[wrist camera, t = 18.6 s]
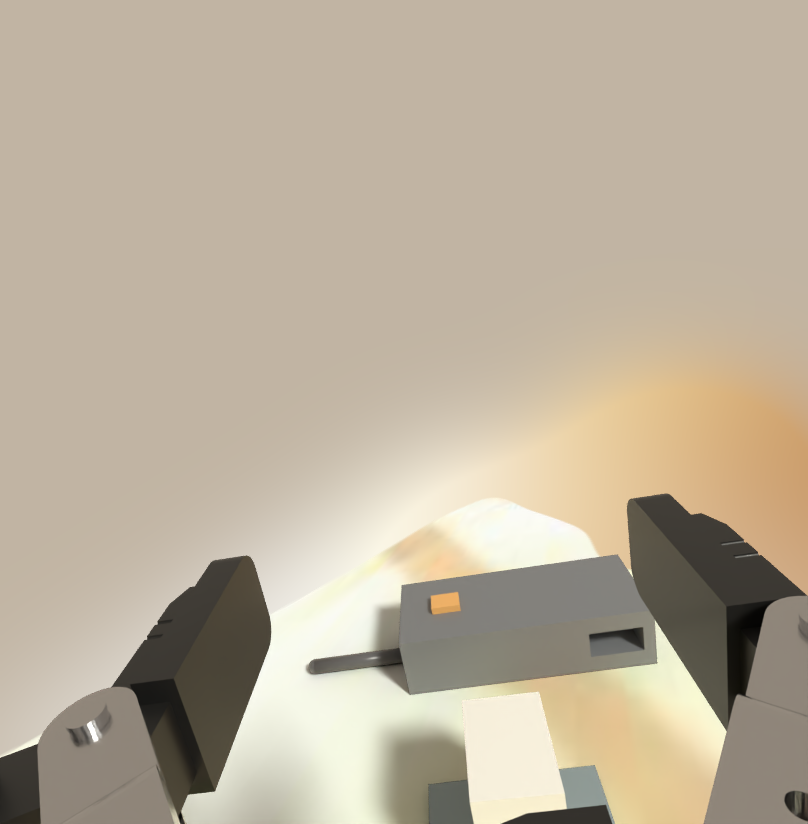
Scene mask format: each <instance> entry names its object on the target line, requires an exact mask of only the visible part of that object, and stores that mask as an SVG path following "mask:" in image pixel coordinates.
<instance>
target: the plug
mask: <svg viewBox="0 0 808 824" xmlns="http://www.w3.org/2000/svg"><path fill="white" fill-rule="evenodd" d="M462 709H463V722H464V735H465V748H466V761H467V774H468V786H469V799H470V806H471V812H472V817H473V822H474V824H501V823H504V822H506V821H509V820H511V819H514V818H516V817H519V816H522V815H524V814H527V813H534V812H544V811H553V810H562V809H567V807H566V799H565V792H564V788H563V784H562V780H561V776H560V773H559V769H558V765H557V761H556V757H555V753H554V749H553V745H552V741H551V737H550V733H549V729H548V725H547V721H546V717H545V713H544V710H543V706H542V702H541V698H540V694H539V692H531V693H523V694H514V695H505V696H496V697H487V698H478V699H469V700H462Z"/></svg>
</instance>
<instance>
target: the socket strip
mask: <svg viewBox="0 0 808 824" xmlns="http://www.w3.org/2000/svg"><path fill="white" fill-rule="evenodd" d="M399 647H400V648H396V649H388V650H381V651H373V652H366V653H358V654H351V655H343V656H336V657H328V658H321V659H314V660H312V661H311V662H310V664H309V670H310V672H311V673H313V674H318V673H326V672H333V671H341V670H349V669H356V668H364V667H371V666H379V665H387V664H394V663H402V662H403V666H404V670H405V675H406V679H407V684H408V688H409V693H410V695H411V694H419V693H427V692H434V691H442V690H450V689H458V688H466V687H474V686H482V685H489V684H497V683H505V682H513V681H521V680H529V679H537V678H544V677H552V676H560V675H568V674H576V673H584V672H592V671H599V670H607V669H615V668H623V667H631V666H639V665H647V664H654V663H657V651H656V635H655V619H654V617H653V616H652V614H651V613H650V611H649V609H648V608H647V606H646V605H645V603H644V602H643V600H642V599H641V597H640V595H639V593H638V590H637V588H636V585H635V582H634V579H633V577H632V576H631V574H630V573H629V571H628V570H627V568H626V567H625V565H624V564H623V562H622V561H621V559H620V558H619V556H618V555H611V556H603V557H596V558H589V559H582V560H575V561H568V562H561V563H554V564H547V565H540V566H533V567H526V568H519V569H512V570H505V571H498V572H491V573H484V574H477V575H470V576H463V577H456V578H449V579H442V580H435V581H428V582H421V583H414V584H407V585H402V591H401V611H400V632H399Z"/></svg>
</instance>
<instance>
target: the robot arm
mask: <svg viewBox="0 0 808 824" xmlns="http://www.w3.org/2000/svg"><path fill="white" fill-rule="evenodd" d="M627 515H628V530H629V543H630V557H631V569H632V574H633V578H634V582H635V585H636V588H637V590H638V593H639V595H640V597H641V599H642V600H643V602H644V603H645V605H646V606H647V608H648V609H649V611H650V613H651V614H652V616H653V617H654V619H655V620H656V622H657V623H658V625H659V627H660V628H661V630H662V631H663V633H664V634H665V636H666V637H667V639H668V641H669V642H670V644H671V645H672V647H673V648H674V650H675V651H676V653H677V655H678V656H679V658H680V659H681V661H682V662H683V664H684V665H685V667H686V669H687V670H688V672H689V673H690V675H691V676H692V678H693V679H694V681H695V682H696V684H697V686H698V687H699V689H700V690H701V692H702V693H703V695H704V696H705V698H706V700H707V701H708V703H709V704H710V706H711V707H712V709H713V710H714V712H715V714H716V715H717V717H718V718H719V720H720V721H721V723H722V724H723V726H724V728H725V729H726V731H727V733H726V737H725V741H724V745H723V749H722V753H721V757H720V761H719V765H718V769H717V773H716V777H715V781H714V785H713V789H712V793H711V797H710V801H709V805H708V809H707V813H706V817H705V821H704V824H808V596H807V595H806V594H805V593H803V592H802V591H801V590H800V589H799V588H798V587H797V586H796V585H795V584H793V583H792V582H791V581H790V580H789V579H788V578H787V577H785V576H784V575H783V574H782V573H781V572H780V571H778V569H776V568H775V567H774V566H773V565H772V564H771V563H770V562H769V561H767V560H766V559H765V558H764V557H763V556H762V555H760V556H759V555H758V552H757V551H756V550H755V549H754V548H753V547H752V546H750V545H749V544H748V543H745V542H744V539H742V538H741V537H740V536H739V535H738V534H737V533H736V532H735V531H734V530H732V529H731V528H730V527H729V526H728V525H727V524H724V523H722V522H720V521H718V520H715V519H713V518H711V517H709V516H706V515H704V514H701V513H700V514H694V515H691V514H689V513H688V512H687V511H686V510H685V509H684V508H683V507H682V506H681V505H680V504H679V503H678V502H677V501H676V500H675V499H674V498H673V497H672V496H671V495H669V494H660V495H654V496H647V497H640V498H634V499H630V500H629V501H628V505H627ZM270 641H271V621H270V616H269V612H268V609H267V606H266V602H265V599H264V595H263V592H262V589H261V585H260V582H259V579H258V575H257V572H256V568H255V565H254V562H253V561H252V559H251V558H250V557H249V556H240V557H234V558H227V559H220V560H215V561H212V562H211V563H210V565H209V566H208V567H207V569H206V571H205V572H204V574H203V575H202V577H201V578H200V579H199V581H198V582H197V584H196V586H195V587H190V588H189V589H187V590H186V591H185V592H184V593H182V594H181V595H180V596H179V597H178V598H176V599H175V600H174V601H173V602H172V603H170V604H169V606H168V607H167V609H166V610H165V612H164V613H163V614H162V616H161V617H160V619H159V620H158V625H155V626H154V627H153V629H152V630H151V631H150V633H149V635H148V636H147V640H144V642H143V643H142V644H141V646H140V647H139V649H138V650H137V651H136V653H135V654H134V656H133V657H132V659H131V660H130V661H129V663H128V664H127V666H126V667H125V669H124V670H123V671H122V673H121V674H120V676H119V677H118V679H117V680H116V681H115V683H114V684H113V686H112V687H111V688H107V689H103V690H100V691H97V692H95V693H92V694H90V695H88V696H86V697H84V698H82V699H80V700H78V701H77V702H75V703H74V704H72V705H71V706H69V707H68V708H66V709H65V710H64V711H63V712H61V713H60V714H59V715H58V716H57V717H56V718H55V719H54V720H53V721H52V722H51V723H50V724H49V725H48V727H47V728H46V730H45V731H44V732H43V734H42V736H41V738H40V740H39V743H38V744H37V745H34V746H31V747H28V748H26V749H23V750H20V751H18V752H15V753H12V754H10V755H7V756H4V757H1V758H0V824H186V822H185V819H184V816H183V814H182V811H181V810H182V807H183V805H184V802H185V800H186V798H187V795H189V794H197V793H206V792H214V791H215V790H216V787H217V785H218V782H219V779H220V777H221V774H222V771H223V769H224V766H225V763H226V761H227V758H228V755H229V753H230V750H231V747H232V745H233V742H234V739H235V737H236V734H237V731H238V729H239V726H240V723H241V721H242V718H243V715H244V713H245V710H246V707H247V705H248V702H249V699H250V697H251V694H252V691H253V689H254V686H255V683H256V681H257V678H258V676H259V673H260V670H261V668H262V665H263V662H264V660H265V657H266V654H267V652H268V649H269V646H270ZM501 824H612V821H611V818H610V815H609V812H608V809H607V806H606V805H599V806H590V807H580V808H571V809H562V810H553V811H544V812H534V813H527V814H524V815H522V816H519V817H516V818H514V819H511V820H509V821H506V822H504V823H501Z"/></svg>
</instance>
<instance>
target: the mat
mask: <svg viewBox="0 0 808 824" xmlns="http://www.w3.org/2000/svg"><path fill="white" fill-rule="evenodd" d="M559 773H560V776H561V780H562V784H563V788H564V792H565V799H566V807H567V809H571V808H580V807H590V806H599V805H606V806H607V809H608V812H609V815H610V818H611V821H612V824H615V822H614V820H613V817H612V814H611V811H610V808H609V805H608V802H607V799H606V796H605V793H604V791H603V788H602V785H601V782H600V779H599V776H598V773H597V770H596V767H595V765H593V766H584V767H575V768H567V769H559ZM429 824H474V822H473V817H472V812H471V806H470V799H469V786H468V780H462V781H453V782H444V783H436V784H429Z"/></svg>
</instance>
